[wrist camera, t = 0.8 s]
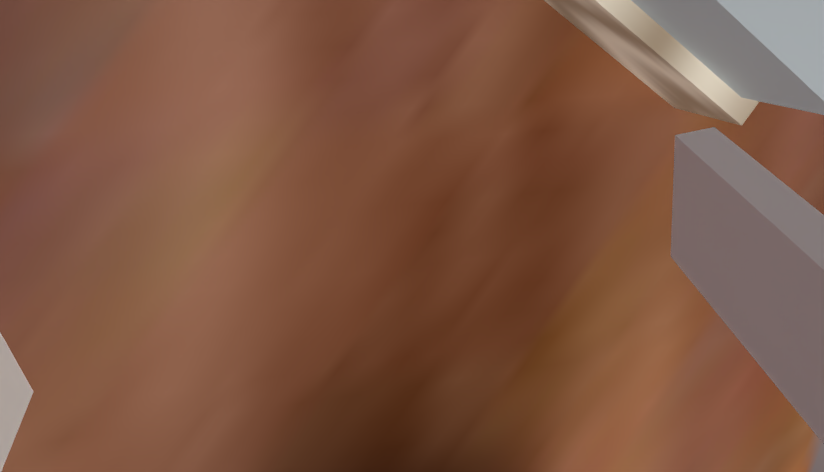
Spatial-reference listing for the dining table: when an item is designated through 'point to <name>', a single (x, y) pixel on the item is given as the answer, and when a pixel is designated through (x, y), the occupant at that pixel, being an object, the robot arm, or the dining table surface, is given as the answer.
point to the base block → (655, 57)
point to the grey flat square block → (753, 45)
